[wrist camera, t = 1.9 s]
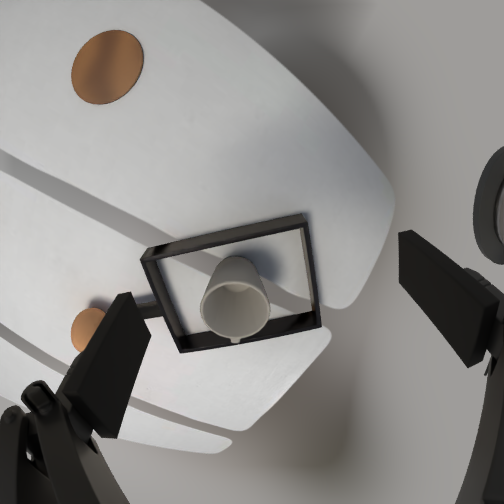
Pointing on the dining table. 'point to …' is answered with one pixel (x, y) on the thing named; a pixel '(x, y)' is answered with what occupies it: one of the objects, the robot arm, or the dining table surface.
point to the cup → (235, 300)
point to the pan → (219, 238)
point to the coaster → (107, 67)
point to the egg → (85, 327)
